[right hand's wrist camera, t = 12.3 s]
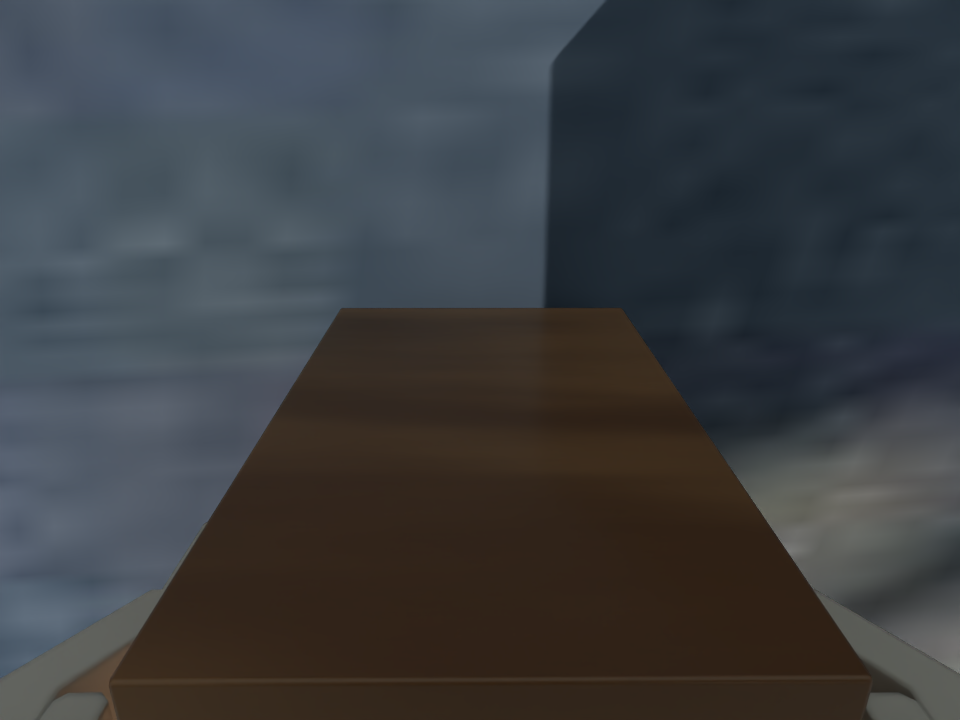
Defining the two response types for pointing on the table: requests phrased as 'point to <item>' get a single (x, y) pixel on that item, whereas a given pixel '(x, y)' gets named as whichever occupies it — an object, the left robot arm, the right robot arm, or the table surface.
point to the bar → (487, 546)
